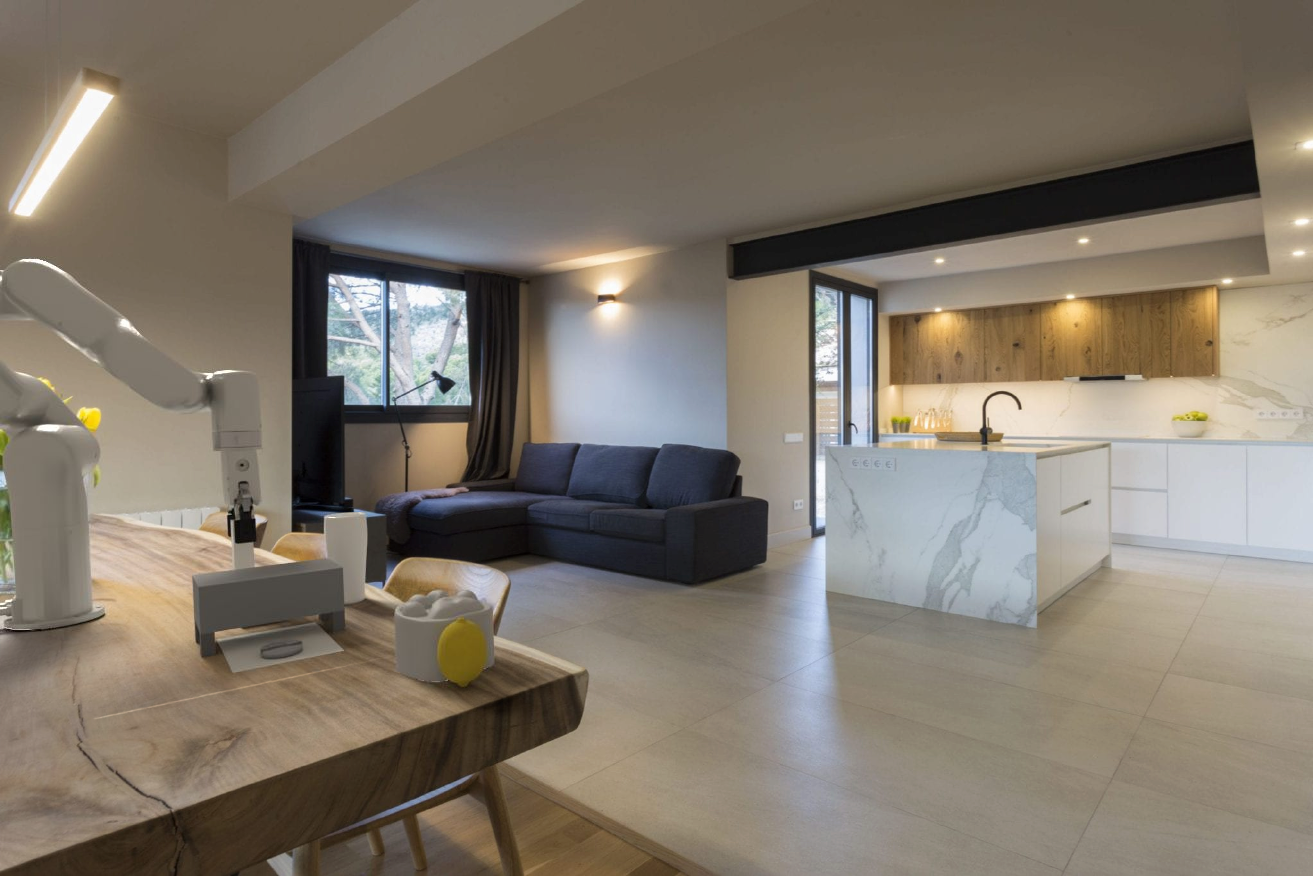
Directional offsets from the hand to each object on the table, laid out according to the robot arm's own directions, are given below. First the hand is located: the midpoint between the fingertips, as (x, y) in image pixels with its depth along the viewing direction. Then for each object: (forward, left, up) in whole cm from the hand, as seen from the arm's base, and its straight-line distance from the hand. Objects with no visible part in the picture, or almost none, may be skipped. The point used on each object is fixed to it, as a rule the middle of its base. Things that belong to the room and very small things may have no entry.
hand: (241, 539), depth 128 cm
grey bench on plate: (0, -28, -11) cm, 30 cm away
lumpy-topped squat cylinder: (+15, -56, -11) cm, 59 cm away
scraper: (0, -9, -11) cm, 14 cm away
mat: (0, -34, -11) cm, 36 cm away
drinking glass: (+14, -14, -11) cm, 23 cm away
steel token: (0, -38, -11) cm, 40 cm away
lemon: (+14, -66, -11) cm, 68 cm away
